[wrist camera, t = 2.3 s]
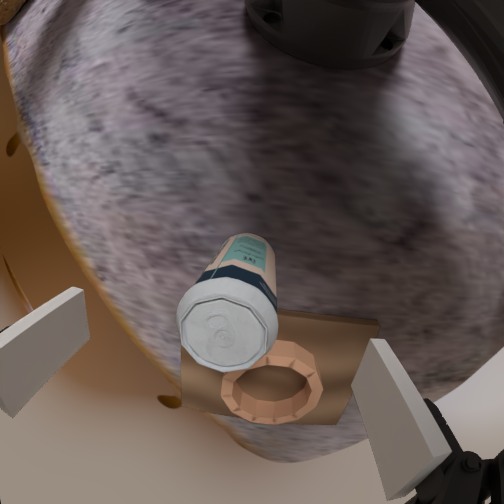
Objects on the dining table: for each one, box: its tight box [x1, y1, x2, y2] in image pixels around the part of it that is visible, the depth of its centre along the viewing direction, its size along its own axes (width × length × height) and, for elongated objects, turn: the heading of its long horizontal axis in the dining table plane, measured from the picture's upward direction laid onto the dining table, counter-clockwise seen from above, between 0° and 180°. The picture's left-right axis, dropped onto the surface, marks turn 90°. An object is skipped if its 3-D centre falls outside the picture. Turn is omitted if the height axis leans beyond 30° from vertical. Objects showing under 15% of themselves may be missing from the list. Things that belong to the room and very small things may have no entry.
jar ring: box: [221, 340, 323, 425], centre depth 23 cm, size 9×9×2 cm
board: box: [181, 309, 381, 425], centre depth 25 cm, size 14×18×1 cm
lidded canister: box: [176, 233, 278, 372], centre depth 17 cm, size 5×5×12 cm
